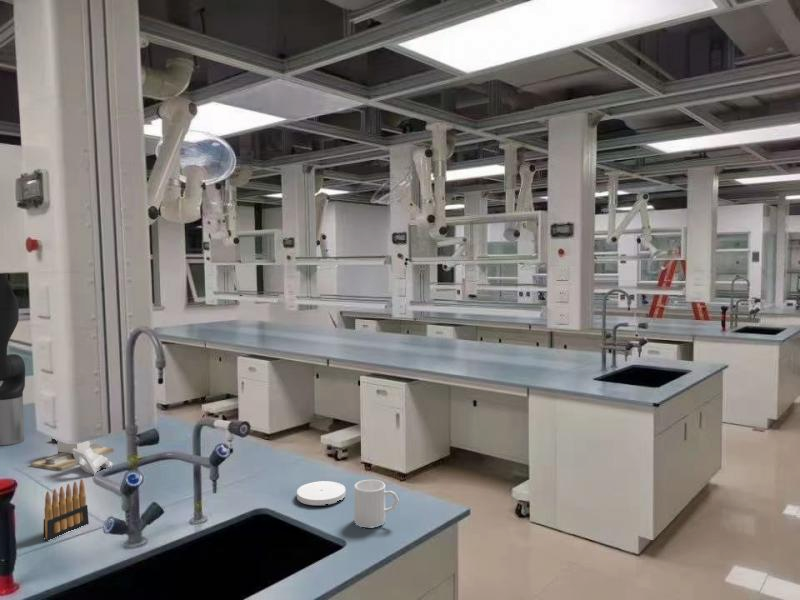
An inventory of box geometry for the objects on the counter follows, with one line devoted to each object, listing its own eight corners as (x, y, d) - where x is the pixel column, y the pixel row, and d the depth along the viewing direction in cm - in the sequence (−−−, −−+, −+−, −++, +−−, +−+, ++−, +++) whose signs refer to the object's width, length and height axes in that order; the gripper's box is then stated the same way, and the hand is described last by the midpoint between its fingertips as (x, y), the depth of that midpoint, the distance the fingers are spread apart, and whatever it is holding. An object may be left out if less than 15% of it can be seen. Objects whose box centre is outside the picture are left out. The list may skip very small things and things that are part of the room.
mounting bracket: (81, 473, 188) (66, 447, 184) (98, 460, 193) (84, 435, 189) (99, 480, 182) (84, 454, 177) (116, 467, 186) (102, 441, 182)
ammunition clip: (48, 541, 137) (46, 493, 137) (43, 540, 138) (41, 492, 137) (88, 523, 147) (87, 478, 146) (84, 522, 148) (82, 477, 147)
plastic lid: (287, 505, 159) (287, 496, 159) (310, 487, 172) (310, 478, 172) (333, 511, 155) (333, 502, 154) (353, 492, 168) (353, 484, 168)
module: (57, 456, 196) (57, 433, 196) (70, 451, 201) (69, 429, 200) (77, 459, 193) (76, 436, 193) (89, 454, 198) (89, 432, 197)
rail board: (30, 466, 189) (30, 458, 189) (84, 447, 209) (84, 440, 209) (62, 470, 185) (61, 463, 185) (113, 451, 205) (113, 444, 205)
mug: (393, 533, 141) (393, 494, 141) (349, 526, 145) (349, 488, 145) (403, 519, 149) (403, 483, 149) (361, 513, 153) (361, 477, 152)
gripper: (92, 324, 219) (93, 366, 219) (59, 328, 205) (61, 372, 206) (107, 325, 216) (108, 367, 217) (75, 329, 203) (76, 374, 204)
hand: (85, 370), depth 212 cm, fingers open, 8 cm apart
